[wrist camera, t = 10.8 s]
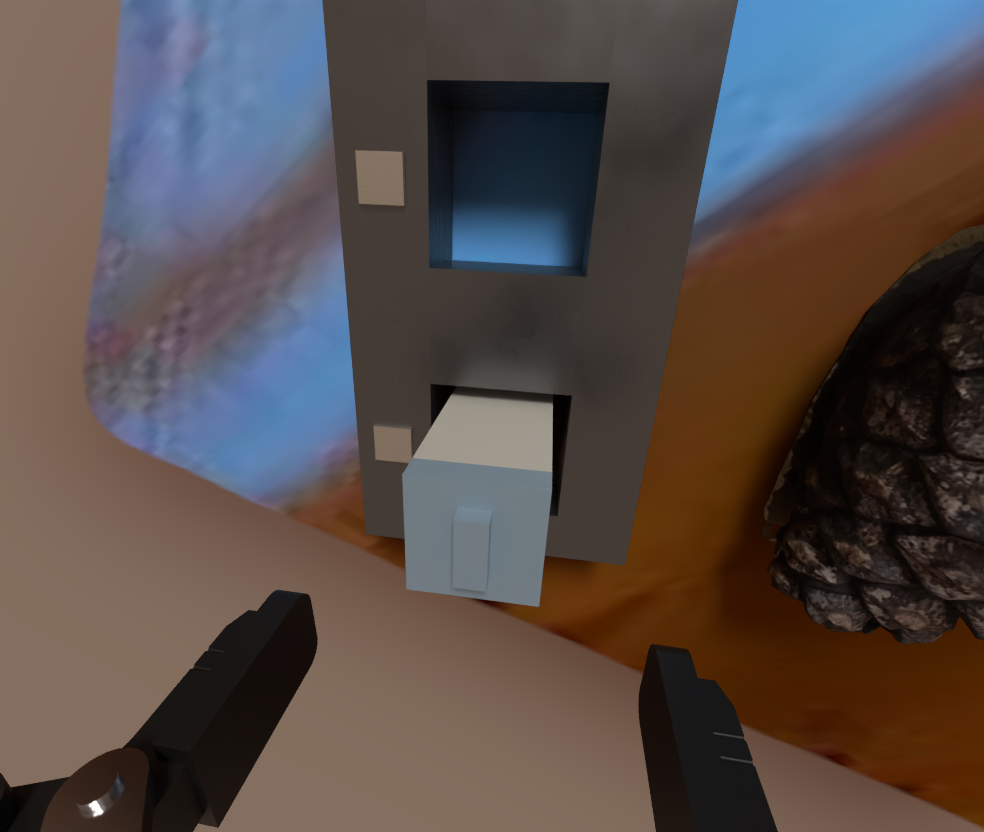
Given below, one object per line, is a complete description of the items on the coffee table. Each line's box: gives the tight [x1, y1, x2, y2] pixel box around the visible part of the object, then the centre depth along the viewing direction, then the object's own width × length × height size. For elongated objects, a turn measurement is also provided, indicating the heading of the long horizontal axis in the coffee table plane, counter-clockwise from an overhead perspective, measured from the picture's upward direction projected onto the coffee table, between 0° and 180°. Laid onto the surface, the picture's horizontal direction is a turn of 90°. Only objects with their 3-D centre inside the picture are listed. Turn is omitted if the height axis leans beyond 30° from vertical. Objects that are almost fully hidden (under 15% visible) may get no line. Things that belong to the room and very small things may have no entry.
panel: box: [323, 0, 738, 565], centre depth 19 cm, size 12×20×4 cm, turn 177°
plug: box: [402, 386, 553, 607], centre depth 18 cm, size 4×4×11 cm
